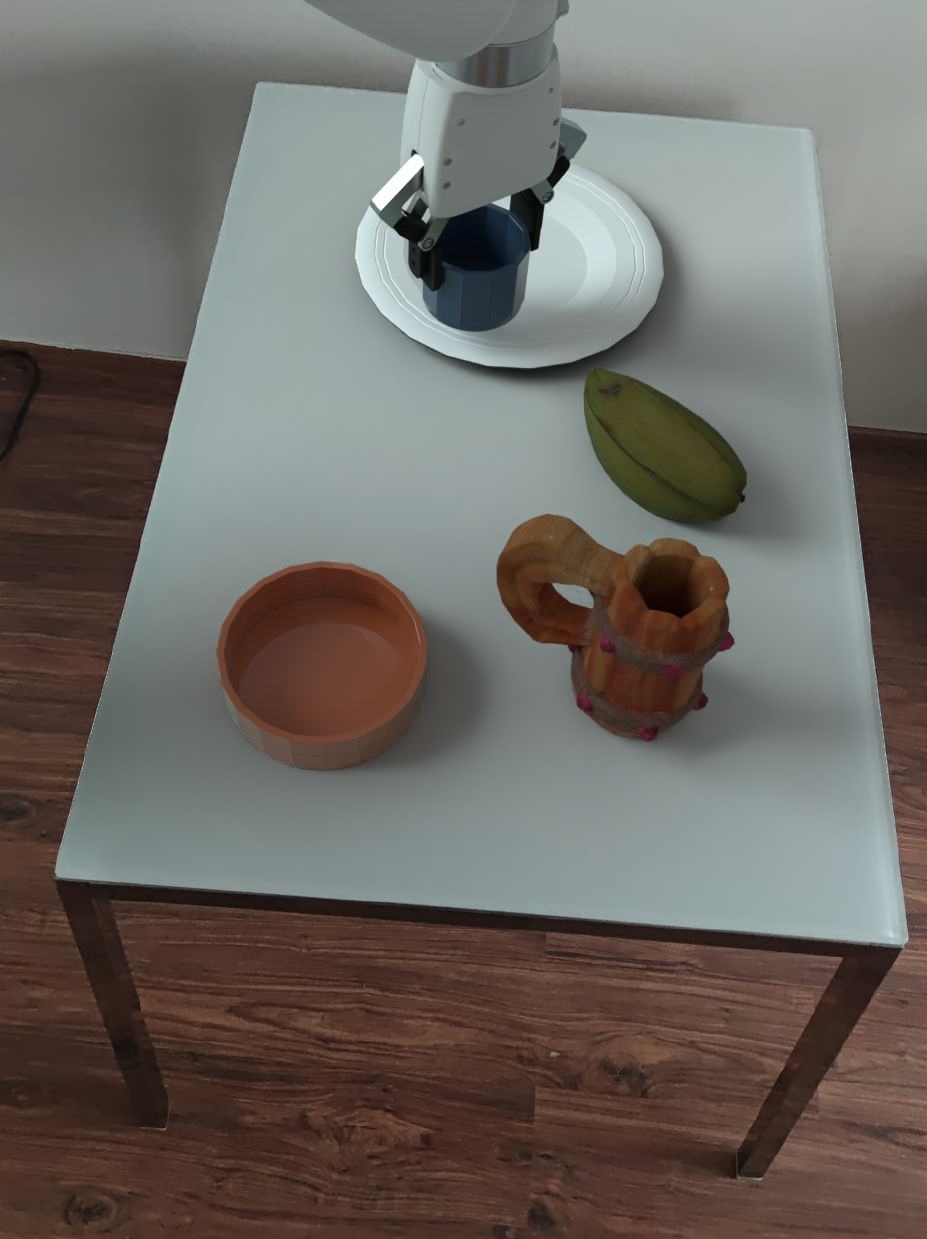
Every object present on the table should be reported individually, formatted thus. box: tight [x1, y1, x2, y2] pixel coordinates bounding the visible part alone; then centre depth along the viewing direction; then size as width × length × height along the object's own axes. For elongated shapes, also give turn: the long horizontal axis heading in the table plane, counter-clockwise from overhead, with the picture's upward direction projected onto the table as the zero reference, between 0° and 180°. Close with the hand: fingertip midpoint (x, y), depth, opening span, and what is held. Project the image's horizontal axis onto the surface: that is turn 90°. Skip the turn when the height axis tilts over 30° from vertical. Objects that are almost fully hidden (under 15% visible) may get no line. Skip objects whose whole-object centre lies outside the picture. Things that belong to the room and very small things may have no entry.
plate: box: [354, 161, 665, 371], centre depth 99 cm, size 25×25×2 cm
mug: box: [495, 513, 736, 743], centre depth 74 cm, size 15×8×15 cm, turn 65°
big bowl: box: [215, 560, 429, 771], centre depth 78 cm, size 13×13×4 cm
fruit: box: [583, 366, 748, 523], centre depth 87 cm, size 11×12×7 cm
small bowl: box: [422, 203, 531, 332], centre depth 89 cm, size 8×8×6 cm
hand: (475, 257), depth 88 cm, fingers closed on small bowl, 7 cm apart
